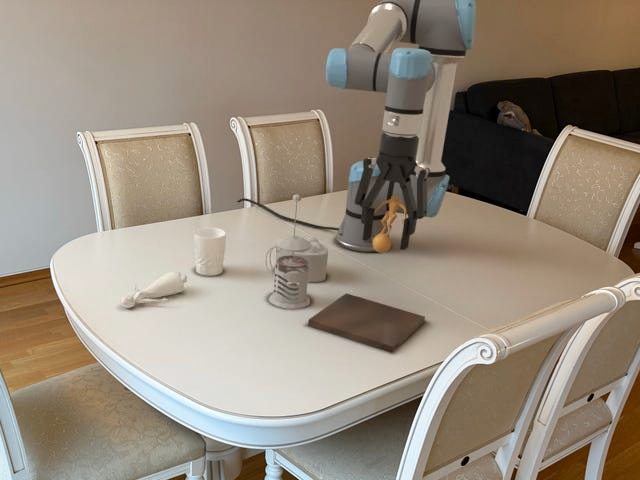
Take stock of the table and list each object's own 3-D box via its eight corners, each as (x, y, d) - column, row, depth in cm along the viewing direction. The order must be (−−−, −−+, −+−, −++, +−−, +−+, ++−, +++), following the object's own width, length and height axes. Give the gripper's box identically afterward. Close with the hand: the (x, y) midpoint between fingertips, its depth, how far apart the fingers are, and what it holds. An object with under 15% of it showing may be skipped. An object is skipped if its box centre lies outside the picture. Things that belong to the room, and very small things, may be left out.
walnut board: (308, 325, 153) (308, 319, 152) (345, 298, 167) (346, 293, 166) (392, 352, 144) (393, 346, 144) (424, 322, 158) (425, 316, 157)
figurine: (360, 248, 151) (366, 193, 145) (378, 243, 155) (385, 189, 149) (389, 259, 146) (397, 203, 140) (407, 254, 150) (416, 198, 144)
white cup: (230, 269, 178) (231, 231, 173) (215, 279, 172) (215, 240, 167) (203, 262, 181) (203, 225, 176) (187, 272, 174) (187, 234, 169)
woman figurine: (199, 276, 161) (137, 303, 149) (200, 294, 163) (139, 322, 151) (166, 262, 167) (103, 286, 155) (167, 279, 169) (106, 304, 158)
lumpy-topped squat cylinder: (294, 261, 186) (296, 229, 181) (334, 274, 179) (338, 242, 175) (269, 271, 178) (271, 239, 174) (311, 286, 172) (314, 253, 167)
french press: (296, 312, 158) (305, 204, 146) (254, 298, 163) (258, 193, 151) (318, 298, 166) (327, 194, 153) (276, 285, 171) (283, 184, 158)
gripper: (345, 127, 140) (333, 237, 151) (444, 145, 131) (424, 260, 142) (361, 123, 146) (349, 228, 157) (457, 139, 137) (437, 250, 148)
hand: (385, 243), depth 150 cm, fingers closed on figurine, 8 cm apart
